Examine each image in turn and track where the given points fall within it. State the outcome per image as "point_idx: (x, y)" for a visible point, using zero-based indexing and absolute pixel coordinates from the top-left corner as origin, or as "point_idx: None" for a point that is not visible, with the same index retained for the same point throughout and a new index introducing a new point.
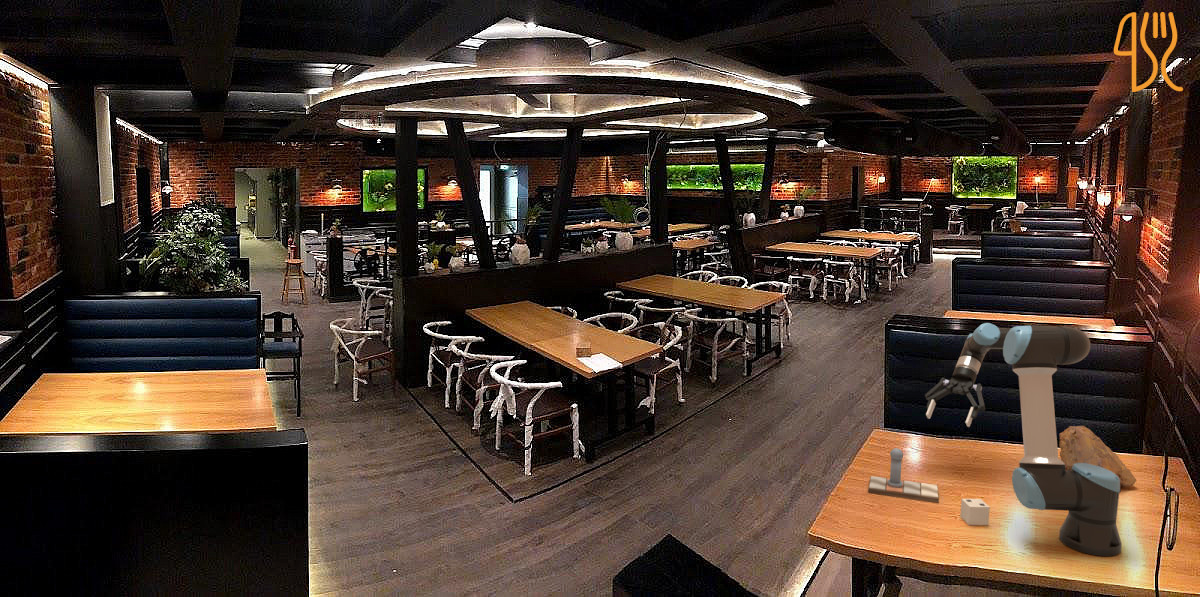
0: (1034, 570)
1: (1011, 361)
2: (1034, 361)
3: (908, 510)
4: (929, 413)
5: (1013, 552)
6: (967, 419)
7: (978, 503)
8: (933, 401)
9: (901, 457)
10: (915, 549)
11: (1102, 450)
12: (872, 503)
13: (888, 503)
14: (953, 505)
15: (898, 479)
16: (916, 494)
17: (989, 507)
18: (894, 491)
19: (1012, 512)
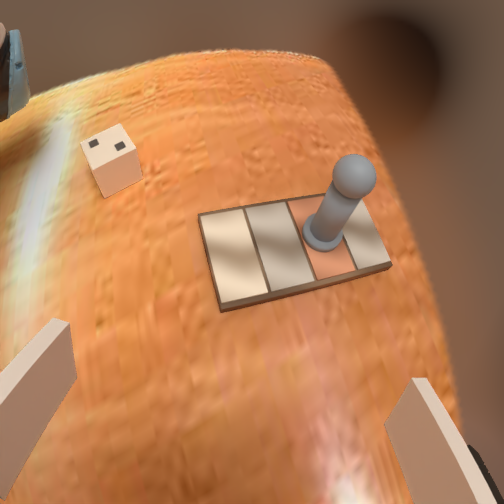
0: (57, 92)
1: None
2: None
3: (248, 154)
4: (411, 409)
5: (69, 113)
6: (44, 339)
7: (100, 145)
8: (469, 499)
9: (333, 169)
10: (202, 64)
11: None
12: (320, 153)
13: (295, 165)
14: (162, 226)
15: (315, 214)
16: (254, 207)
17: (80, 143)
18: (305, 199)
19: (38, 262)
